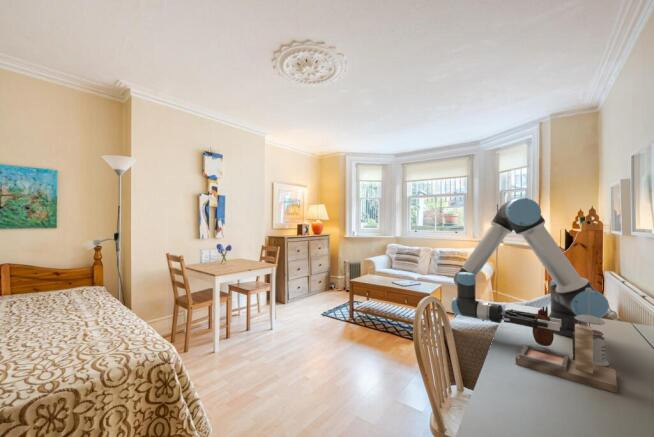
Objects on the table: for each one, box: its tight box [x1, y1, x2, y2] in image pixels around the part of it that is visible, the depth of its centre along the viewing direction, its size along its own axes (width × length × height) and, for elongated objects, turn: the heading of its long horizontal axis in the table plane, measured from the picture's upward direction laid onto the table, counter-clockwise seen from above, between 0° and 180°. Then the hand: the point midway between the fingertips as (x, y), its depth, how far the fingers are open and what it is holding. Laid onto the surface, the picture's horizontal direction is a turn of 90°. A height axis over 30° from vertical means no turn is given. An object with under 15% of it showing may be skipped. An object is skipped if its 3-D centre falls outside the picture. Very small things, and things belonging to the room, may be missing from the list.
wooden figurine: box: [532, 306, 555, 347], centre depth 110 cm, size 7×6×15 cm
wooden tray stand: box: [515, 324, 618, 394], centre depth 93 cm, size 24×13×15 cm, turn 46°
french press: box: [571, 288, 610, 367], centre depth 102 cm, size 10×12×25 cm
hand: (560, 325), depth 106 cm, fingers closed on wooden figurine, 5 cm apart
